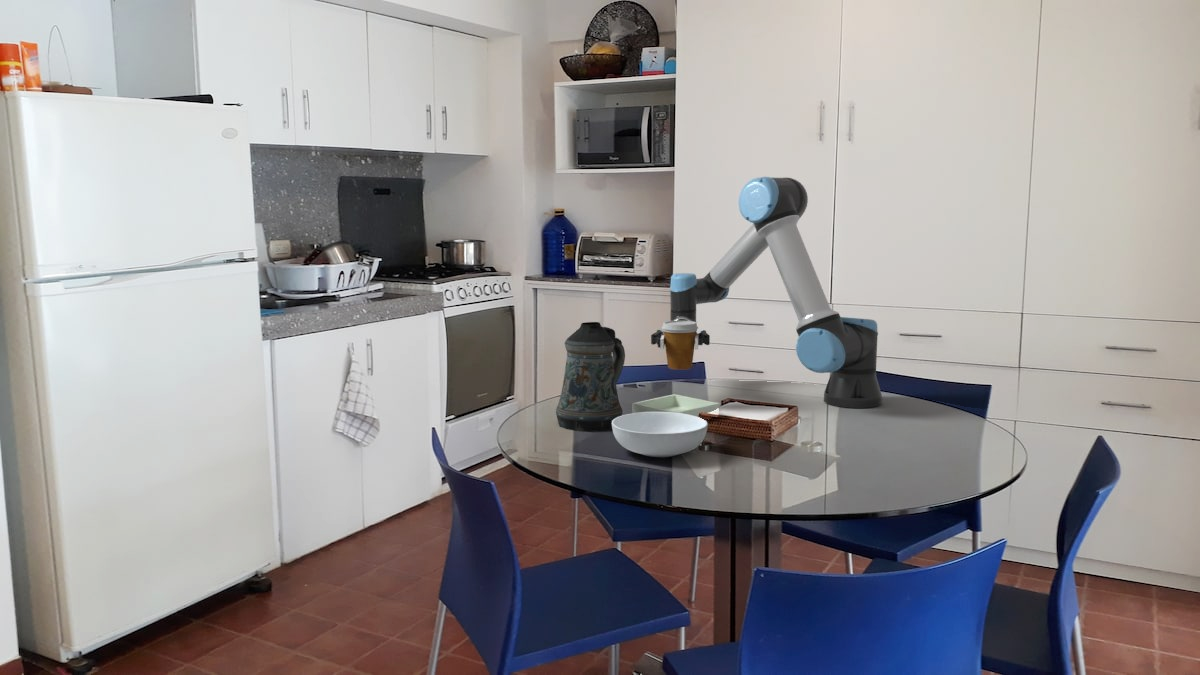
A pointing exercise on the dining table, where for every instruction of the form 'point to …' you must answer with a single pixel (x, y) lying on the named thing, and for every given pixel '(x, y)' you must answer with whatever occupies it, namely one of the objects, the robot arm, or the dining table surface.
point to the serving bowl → (659, 432)
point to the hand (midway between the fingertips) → (679, 344)
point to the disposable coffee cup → (679, 343)
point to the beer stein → (591, 379)
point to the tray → (675, 405)
